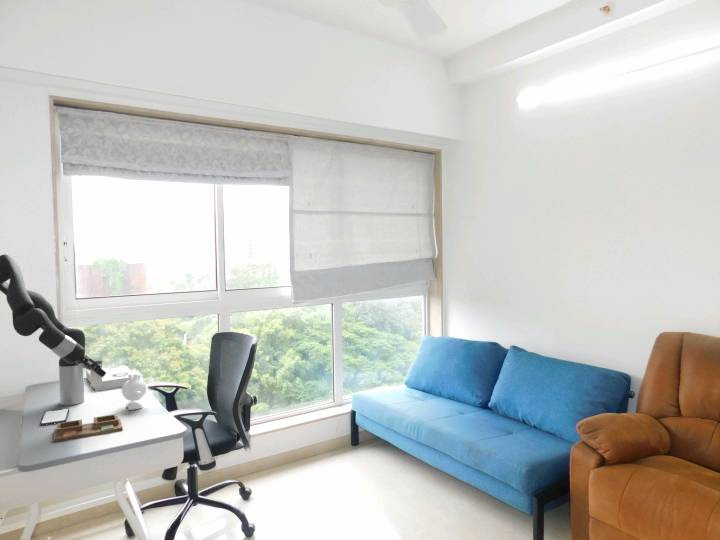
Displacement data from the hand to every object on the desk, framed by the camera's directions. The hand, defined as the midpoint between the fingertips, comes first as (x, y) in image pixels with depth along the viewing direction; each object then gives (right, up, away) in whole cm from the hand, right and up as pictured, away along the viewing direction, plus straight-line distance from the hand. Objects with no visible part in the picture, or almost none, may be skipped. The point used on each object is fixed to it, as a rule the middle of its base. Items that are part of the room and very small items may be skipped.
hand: (101, 373), depth 195 cm
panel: (+2, -19, -13) cm, 23 cm away
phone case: (-19, -19, +2) cm, 27 cm away
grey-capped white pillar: (-1, -4, -1) cm, 5 cm away
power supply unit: (-26, -17, +59) cm, 67 cm away
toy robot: (+6, -18, +15) cm, 24 cm away
